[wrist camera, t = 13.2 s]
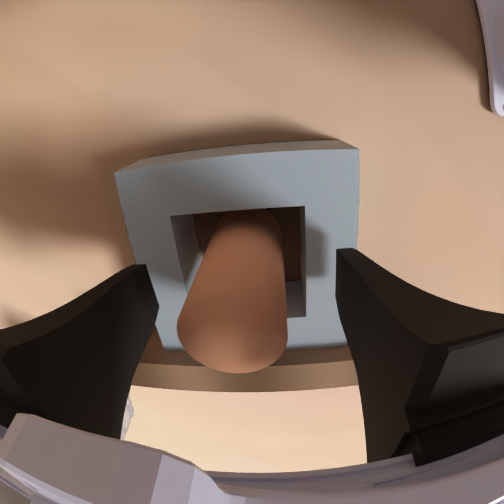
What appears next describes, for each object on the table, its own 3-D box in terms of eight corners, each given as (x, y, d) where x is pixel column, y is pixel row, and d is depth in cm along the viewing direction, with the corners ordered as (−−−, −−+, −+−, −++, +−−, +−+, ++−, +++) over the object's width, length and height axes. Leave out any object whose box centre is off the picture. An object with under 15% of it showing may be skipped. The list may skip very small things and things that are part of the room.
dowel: (277, 200, 14) (282, 285, 7) (285, 262, 15) (291, 370, 9) (209, 209, 14) (162, 295, 8) (222, 268, 16) (193, 374, 9)
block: (340, 139, 12) (359, 149, 10) (336, 308, 16) (346, 345, 14) (143, 158, 13) (113, 172, 10) (178, 314, 17) (164, 350, 14)
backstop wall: (378, 304, 16) (399, 353, 12) (373, 330, 17) (391, 380, 13) (141, 314, 17) (116, 360, 14) (150, 338, 18) (129, 384, 15)
